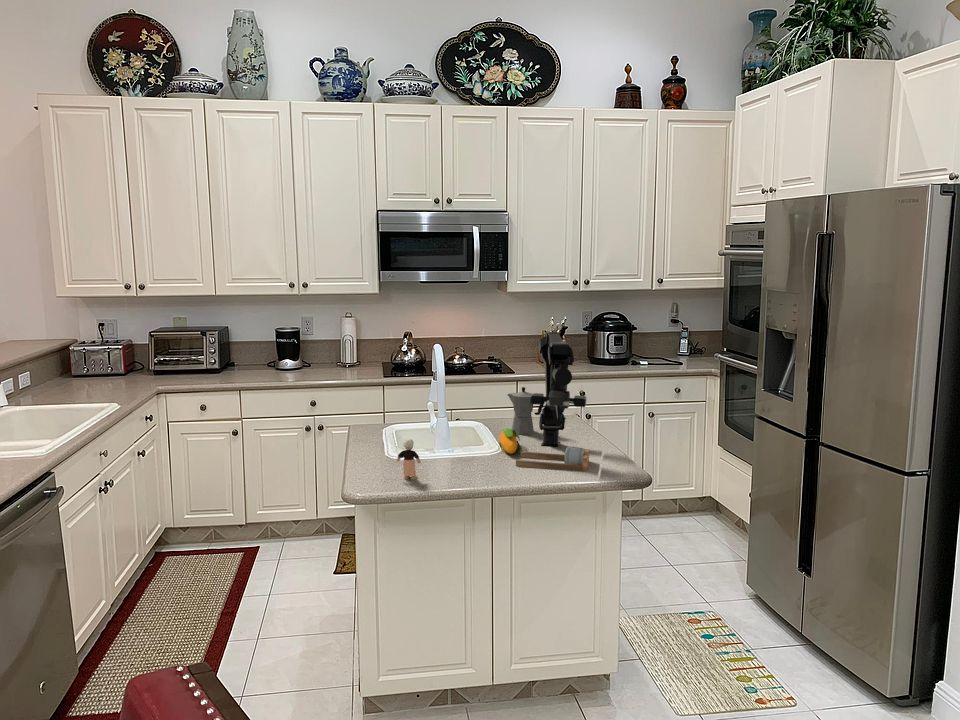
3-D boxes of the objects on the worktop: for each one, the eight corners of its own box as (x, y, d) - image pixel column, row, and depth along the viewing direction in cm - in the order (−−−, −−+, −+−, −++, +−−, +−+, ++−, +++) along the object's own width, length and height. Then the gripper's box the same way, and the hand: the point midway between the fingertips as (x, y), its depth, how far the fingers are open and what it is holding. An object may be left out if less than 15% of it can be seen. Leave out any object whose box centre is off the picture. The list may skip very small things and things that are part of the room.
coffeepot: (503, 433, 280) (503, 388, 277) (510, 427, 289) (511, 383, 286) (541, 437, 275) (542, 391, 272) (547, 431, 284) (548, 386, 281)
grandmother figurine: (421, 476, 227) (421, 437, 225) (420, 480, 223) (420, 440, 221) (396, 476, 227) (396, 437, 225) (395, 480, 223) (395, 440, 221)
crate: (566, 461, 241) (566, 447, 240) (584, 463, 240) (584, 448, 239) (564, 467, 235) (564, 452, 234) (582, 468, 234) (583, 453, 233)
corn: (517, 424, 264) (523, 438, 244) (518, 444, 265) (524, 460, 245) (497, 425, 263) (502, 440, 244) (498, 445, 265) (503, 461, 245)
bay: (521, 458, 247) (521, 444, 246) (588, 463, 242) (589, 449, 242) (515, 468, 236) (515, 453, 235) (586, 473, 231) (586, 458, 231)
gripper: (528, 382, 238) (527, 428, 240) (584, 385, 234) (583, 432, 236) (533, 377, 248) (532, 420, 251) (587, 379, 244) (585, 424, 247)
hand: (557, 424), depth 246 cm, fingers closed
